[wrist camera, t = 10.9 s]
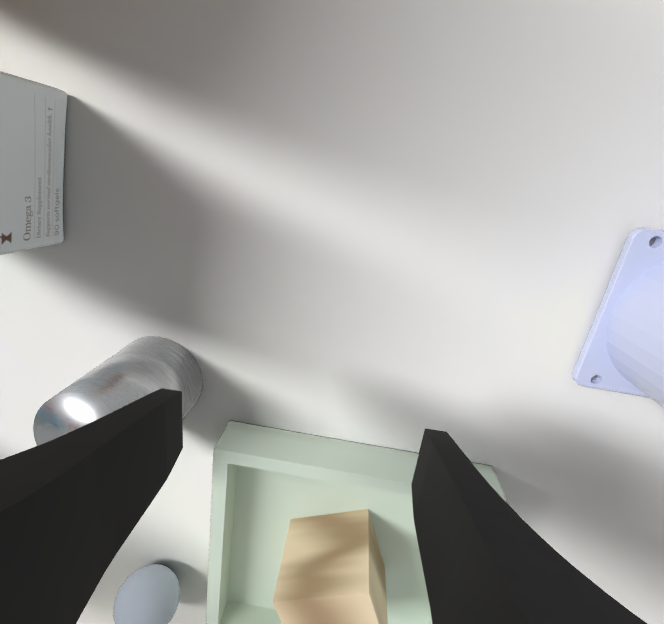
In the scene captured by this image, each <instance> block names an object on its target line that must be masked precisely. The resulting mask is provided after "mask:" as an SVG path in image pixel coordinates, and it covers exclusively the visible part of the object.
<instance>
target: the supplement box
mask: <svg viewBox="0 0 664 624" xmlns="http://www.w3.org/2000/svg"><path fill="white" fill-rule="evenodd" d="M66 110H67V94H66V93H65V92H64V91H62V90H59V89H57V88H54V87H51V86H47V85H44V84H41V83H38V82H34V81H31V80H28V79H24V78H21V77H18V76H14V75H11V74H8V73H5V72H1V71H0V255H2V254H8V253H13V252H18V251H23V250H29V249H33V248H38V247H44V246H50V245H56V244H60V243H63V240H64V234H63V171H64V149H65V125H66Z"/></svg>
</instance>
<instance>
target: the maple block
mask: <svg viewBox="0 0 664 624" xmlns="http://www.w3.org/2000/svg"><path fill="white" fill-rule="evenodd" d="M273 604H274V606H275V609H276V611H277V614H278V616H279V618H280V621H281V623H282V624H388V617H387V598H386V578H385V566H384V563H383V559H382V556H381V552H380V549H379V545H378V542H377V538H376V535H375V531H374V528H373V524H372V521H371V517H370V514H369V510H368V509H364V510H356V511H349V512H341V513H333V514H326V515H318V516H310V517H303V518H295V519H291V520H290V524H289V529H288V534H287V538H286V543H285V547H284V552H283V556H282V561H281V566H280V570H279V575H278V579H277V584H276V588H275V593H274V598H273Z"/></svg>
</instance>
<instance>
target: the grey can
mask: <svg viewBox="0 0 664 624" xmlns="http://www.w3.org/2000/svg"><path fill="white" fill-rule="evenodd" d="M202 387H203V378H202V373H201V370H200V367H199V365H198V363H197V361H196V360H195V358H194V357H193V356H192V355H191V353H189V352H188V351H187V350H186V349H185V348H184V347H183V346H181V345H180V344H178V343H176V342H174V341H172V340H169V339H166V338H162V337H155V336H151V337H143V338H140V339H137V340H135V341H133V342H132V343H130V344H129V345H127V346H126V347H125V348H123V349H122V350H120V351H119V352H117V353H116V354H114V355H113V356H112V357H110V358H109V359H107V360H106V361H104V362H103V363H101V364H100V365H99V366H97V367H96V368H94V369H93V370H91V371H90V372H88V373H87V374H86V375H84V376H83V377H81V378H80V379H78V380H77V381H76V382H74V383H73V384H71V385H70V386H68V387H67V388H65V389H64V390H63V391H61V392H60V393H58V394H57V395H55V396H54V397H52V398H51V399H50V400H48V401H47V402H45V403H44V404H43V405H42V406H41V407H40V409H39V410H38V412H37V414H36V416H35V420H34V427H33V429H34V437H35V441H36V444H37V446H39V445H41V444H44V443H46V442H48V441H51V440H53V439H55V438H58V437H60V436H62V435H64V434H67V433H69V432H71V431H73V430H75V429H78V428H80V427H82V426H84V425H86V424H89V423H91V422H93V421H95V420H97V419H99V418H101V417H103V416H105V415H107V414H109V413H111V412H113V411H116V410H118V409H120V408H122V407H124V406H126V405H128V404H130V403H132V402H134V401H136V400H138V399H140V398H142V397H144V396H146V395H148V394H150V393H152V392H154V391H156V390H159V389H161V388H164V389H171V390H177V391H182V420H183V418H184V417H185V416H186V414H187V413H188V412H189V410H190V409H191V408H192V406H193V405H194V404H195V403H196V401H197V400H198V398H199V397H200V394H201V391H202Z"/></svg>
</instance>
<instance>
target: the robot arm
mask: <svg viewBox="0 0 664 624" xmlns="http://www.w3.org/2000/svg"><path fill="white" fill-rule="evenodd" d="M654 236H655V238H656V239H655V242H654V244H653V245H651V246H650V245H649V241H650V239H651V238H653V237H654ZM595 375H597V378H596V379H594V380H591V378H592V377H593V376H595ZM572 377H573V380H574V381H575V382H576V383H577V384H578V385H580V386H584V387H591V388H597V389H603V390H609V391H615V392H621V393H627V394H633V395H639V396H645V397H651V398H652V399H653V400H654V401H656V402H657V403H658V404H660V405H661V406H662V407H664V231H660V230H653V229H647V228H638V229H635V230H633V231H632V232H631V233H630V234H629V236H628V238H627V240H626V243H625V245H624V247H623V250H622V252H621V255H620V257H619V260H618V262H617V265H616V267H615V270H614V272H613V275H612V277H611V280H610V282H609V285H608V287H607V290H606V292H605V295H604V297H603V300H602V302H601V305H600V307H599V310H598V312H597V314H596V317H595V319H594V322H593V324H592V327H591V329H590V332H589V334H588V337H587V339H586V342H585V344H584V347H583V349H582V352H581V354H580V357H579V359H578V362H577V364H576V367H575V369H574V372H573V375H572ZM182 448H183V434H182V391H177V390H171V389H164V388H161V389H159V390H156V391H154V392H152V393H150V394H148V395H146V396H144V397H142V398H140V399H138V400H136V401H134V402H132V403H130V404H128V405H126V406H124V407H122V408H120V409H118V410H116V411H113V412H111V413H109V414H107V415H105V416H103V417H101V418H99V419H97V420H95V421H93V422H91V423H89V424H86V425H84V426H82V427H80V428H78V429H75V430H73V431H71V432H69V433H67V434H64V435H62V436H60V437H58V438H55V439H53V440H51V441H48V442H46V443H44V444H41V445H39V446H36V447H34V448H31V449H28V450H26V451H23V452H20V453H18V454H15V455H12V456H10V457H7V458H4V459H1V460H0V624H76V623H77V621H78V619H79V617H80V615H81V613H82V611H83V610H84V608H85V606H86V604H87V603H88V601H89V599H90V597H91V595H92V594H93V592H94V590H95V588H96V587H97V585H98V583H99V581H100V579H101V578H102V576H103V574H104V572H105V571H106V569H107V567H108V566H109V564H110V563H111V561H112V560H113V558H114V556H115V555H116V553H117V552H118V550H119V549H120V547H121V546H122V544H123V543H124V542H125V540H126V539H127V537H128V536H129V534H130V533H131V531H132V530H133V528H134V527H135V525H136V524H137V523H138V521H139V520H140V518H141V517H142V515H143V514H144V512H145V511H146V509H147V508H148V506H149V505H150V504H151V502H152V501H153V499H154V498H155V496H156V495H157V493H158V492H159V490H160V489H161V487H162V486H163V484H164V483H165V481H166V480H167V478H168V476H169V474H170V472H171V470H172V468H173V466H174V464H175V462H176V460H177V458H178V456H179V454H180V452H181V450H182ZM411 486H412V504H413V517H414V524H415V530H416V535H417V541H418V546H419V551H420V557H421V562H422V567H423V573H424V578H425V583H426V588H427V594H428V599H429V604H430V610H431V617H432V624H647V623H646V622H644V621H643V620H641V619H640V618H639V617H637V616H636V615H635V614H633V613H632V612H630V611H629V610H628V609H626V608H625V607H624V606H622V605H621V604H620V603H619V602H617V601H616V600H615V599H613V598H612V597H611V596H609V595H608V594H607V593H606V592H604V591H603V590H602V589H601V588H599V587H598V586H597V585H596V584H594V583H593V582H592V581H591V580H590V579H588V578H587V577H586V576H585V575H583V574H582V573H581V572H580V571H578V570H577V569H576V568H575V567H574V566H572V565H571V564H570V563H569V562H568V561H567V560H565V559H564V558H563V557H562V556H561V555H560V554H559V553H557V552H556V551H555V550H554V549H553V548H552V547H551V546H550V545H549V544H548V543H547V542H546V541H544V540H543V539H542V538H541V537H540V536H539V535H538V534H537V533H536V532H535V531H534V530H533V529H532V528H531V527H530V526H529V525H528V524H527V523H525V522H524V521H523V520H522V519H521V518H520V516H519V515H518V514H517V513H516V512H515V511H514V510H513V509H512V508H511V507H510V506H509V505H508V504H507V503H506V502H505V501H504V500H503V499H502V497H501V496H500V495H499V494H498V493H497V492H496V491H495V490H494V489H493V487H492V486H491V485H490V484H489V483H488V482H487V481H486V479H485V478H484V477H483V476H482V475H481V474H480V472H479V471H478V470H477V469H476V468H475V466H474V465H473V464H472V463H471V461H470V460H469V459H468V458H467V457H466V455H465V454H464V453H463V452H462V450H461V449H460V448H459V447H458V445H457V444H456V443H455V442H454V440H453V439H452V438H451V437H450V436H449V434H448V433H447V432H444V431H437V430H431V429H425V431H424V435H423V439H422V443H421V447H420V451H419V455H418V459H417V464H416V468H415V472H414V476H413V480H412V484H411Z"/></svg>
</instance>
